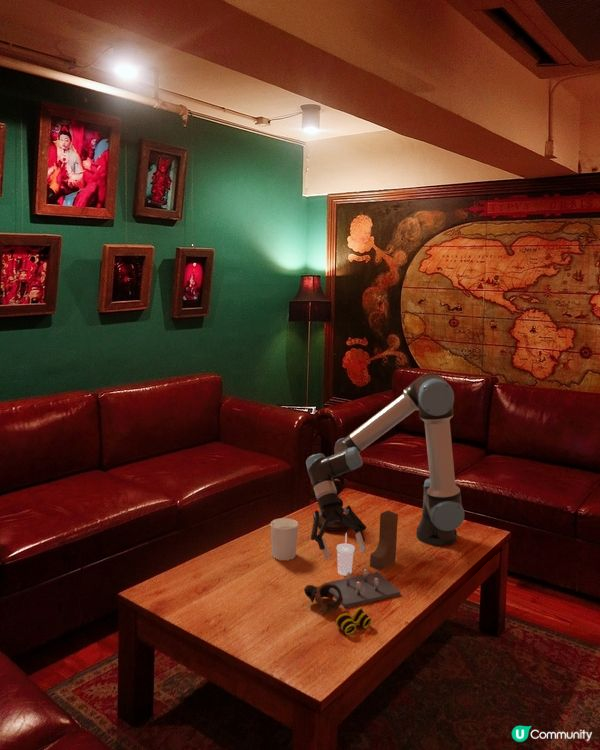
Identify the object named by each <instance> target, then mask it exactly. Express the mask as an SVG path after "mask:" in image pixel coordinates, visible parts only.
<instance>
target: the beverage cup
mask: <svg viewBox="0 0 600 750" xmlns="http://www.w3.org/2000/svg"><path fill="white" fill-rule="evenodd" d="M347 534H348V533H347V532H346V533H345V537H344V539H345V540H344V542H343V543H339V544H337V545H336V555H337V574H339V575H340V576H345V577H346V575H347V572H350V575H351V574H352V573H353V572H352V571H353V569H352V568H353V561H354V560H353V559H354V553H355V550H356V548H355V545H353V544H351V543H347V542H348V541H347V539H348V535H347Z"/></svg>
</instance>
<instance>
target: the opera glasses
mask: <svg viewBox="0 0 600 750" xmlns="http://www.w3.org/2000/svg"><path fill="white" fill-rule="evenodd" d="M372 621H373V619H372V617H370V616H369V615H368V614H367V612H365V611H364V610H363V607H358V608H357V609H356V610H355V611H354V613H353V615H351V614H350V613H348V612H346V613H342V614H340V615H339V616H338V617H337V618H336V620H335V626H337V628H338V629H340V630H341V631H343V632H344V634H345V635H346V636H350V635H353V634H355V632H356V630H357V626H359V627H360V628H361V627H362V628H363V629H368V628H369V627H370V626H371V624H372Z"/></svg>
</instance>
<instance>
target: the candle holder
mask: <svg viewBox="0 0 600 750" xmlns="http://www.w3.org/2000/svg"><path fill="white" fill-rule="evenodd" d="M298 531H299V522H298V521H297V520H295V519H293V518H288V517H287V518H286V517H284V518H282V517H280V518H276V519H272V521H271V522H270V541H271V542H270V543H271V556H272V558H273V557H274V558H273V559H275V558H276V559H275V560H277V559H278V560H277V561H281V560H287V561H291V560H294V558H296V556H297V555H296V554H297V544H298ZM290 559H291V560H290Z"/></svg>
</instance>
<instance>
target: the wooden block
mask: <svg viewBox="0 0 600 750" xmlns="http://www.w3.org/2000/svg"><path fill="white" fill-rule="evenodd" d="M379 515H380V516H379V517H380V518H379V536H378V537H379V538H378V544H377V546H376V548H375V550H374V551H372V553H370V556H369V557H370V558H369V566H370V567H371V568H373V569H376V570H377V571H381V570H382V569H384V568H387V567H389V566H391V565H392V564H395V563H396V556H397V555H396V553H397V540H398V539H397V537H398V536H397V535H398V523H399V522H398V521H399V520H398V519H399V514H398V513H396V512H393V511H391V510H386V511H383V512H380V514H379Z"/></svg>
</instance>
